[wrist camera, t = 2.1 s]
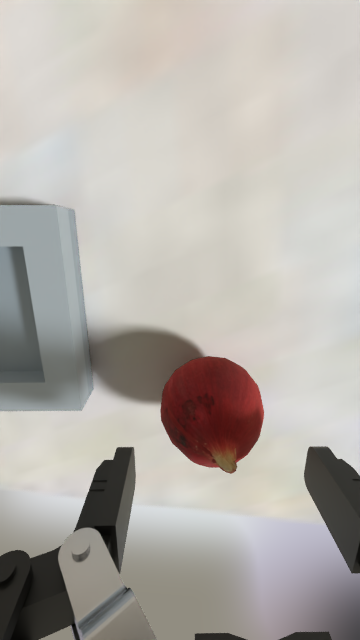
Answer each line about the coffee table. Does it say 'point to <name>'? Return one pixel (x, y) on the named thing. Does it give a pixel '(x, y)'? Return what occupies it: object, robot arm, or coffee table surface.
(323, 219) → the coffee table surface
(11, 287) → the base plate
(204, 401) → the onion
